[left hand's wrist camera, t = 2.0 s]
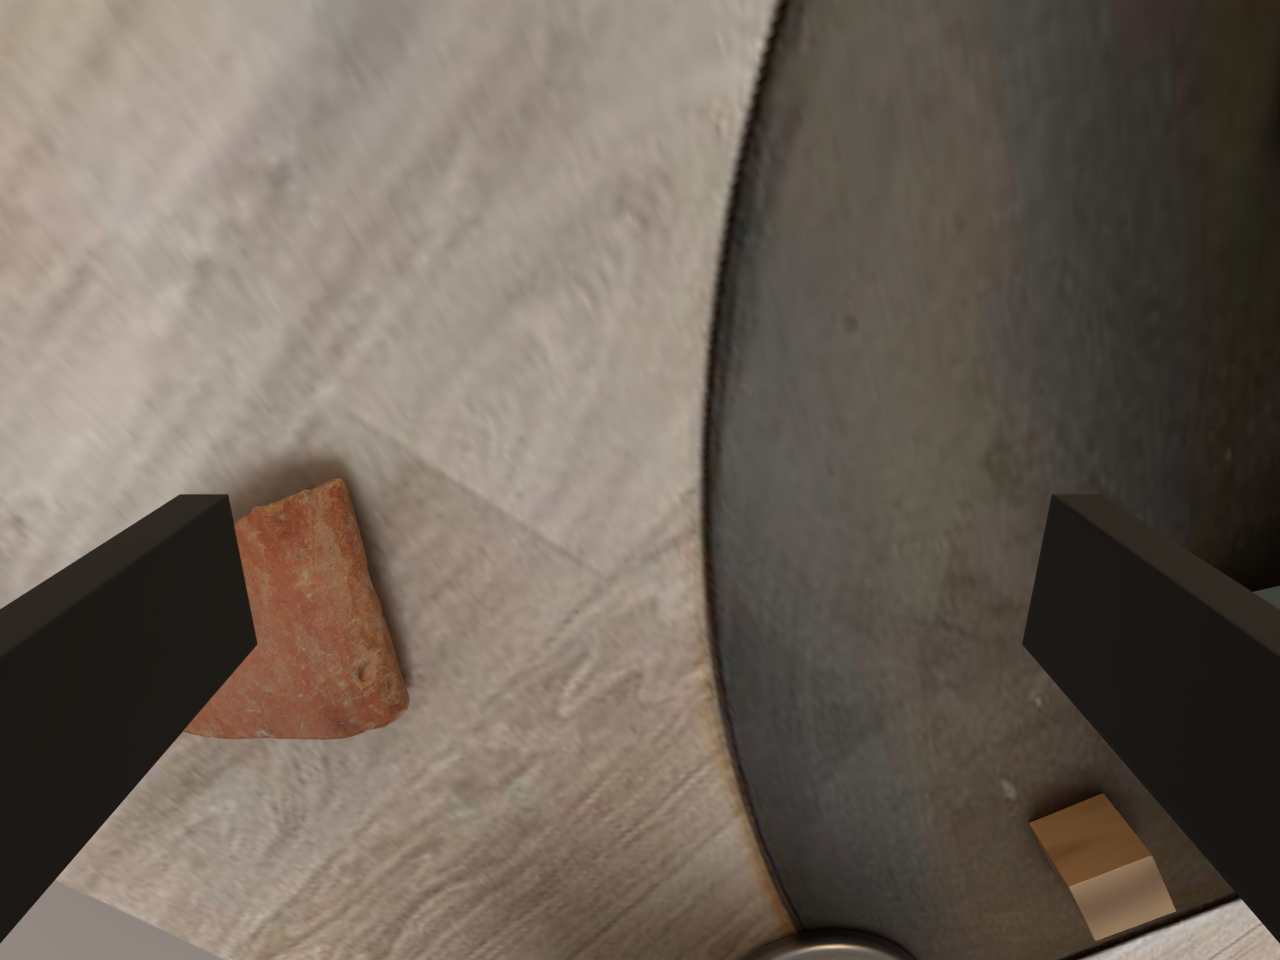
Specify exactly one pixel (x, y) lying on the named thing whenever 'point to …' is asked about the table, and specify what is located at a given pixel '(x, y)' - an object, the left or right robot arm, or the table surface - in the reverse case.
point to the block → (1102, 867)
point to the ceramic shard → (308, 629)
